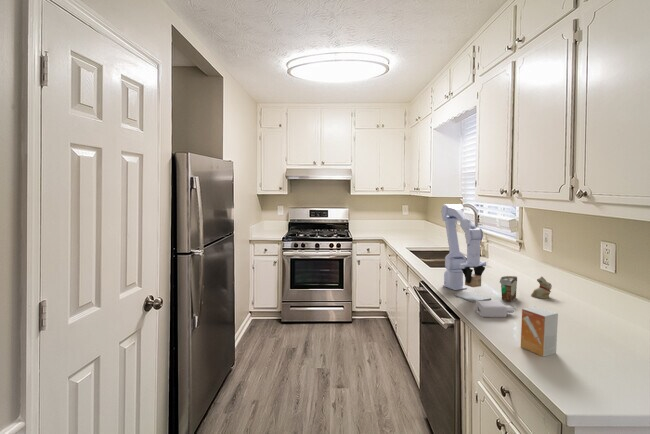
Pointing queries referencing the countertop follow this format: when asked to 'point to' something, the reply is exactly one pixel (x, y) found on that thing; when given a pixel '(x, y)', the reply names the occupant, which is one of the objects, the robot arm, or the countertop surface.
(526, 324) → the small box
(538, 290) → the chocolate bunny
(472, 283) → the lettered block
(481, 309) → the charger
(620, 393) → the countertop surface
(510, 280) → the food container
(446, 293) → the countertop surface
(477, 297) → the slate board
